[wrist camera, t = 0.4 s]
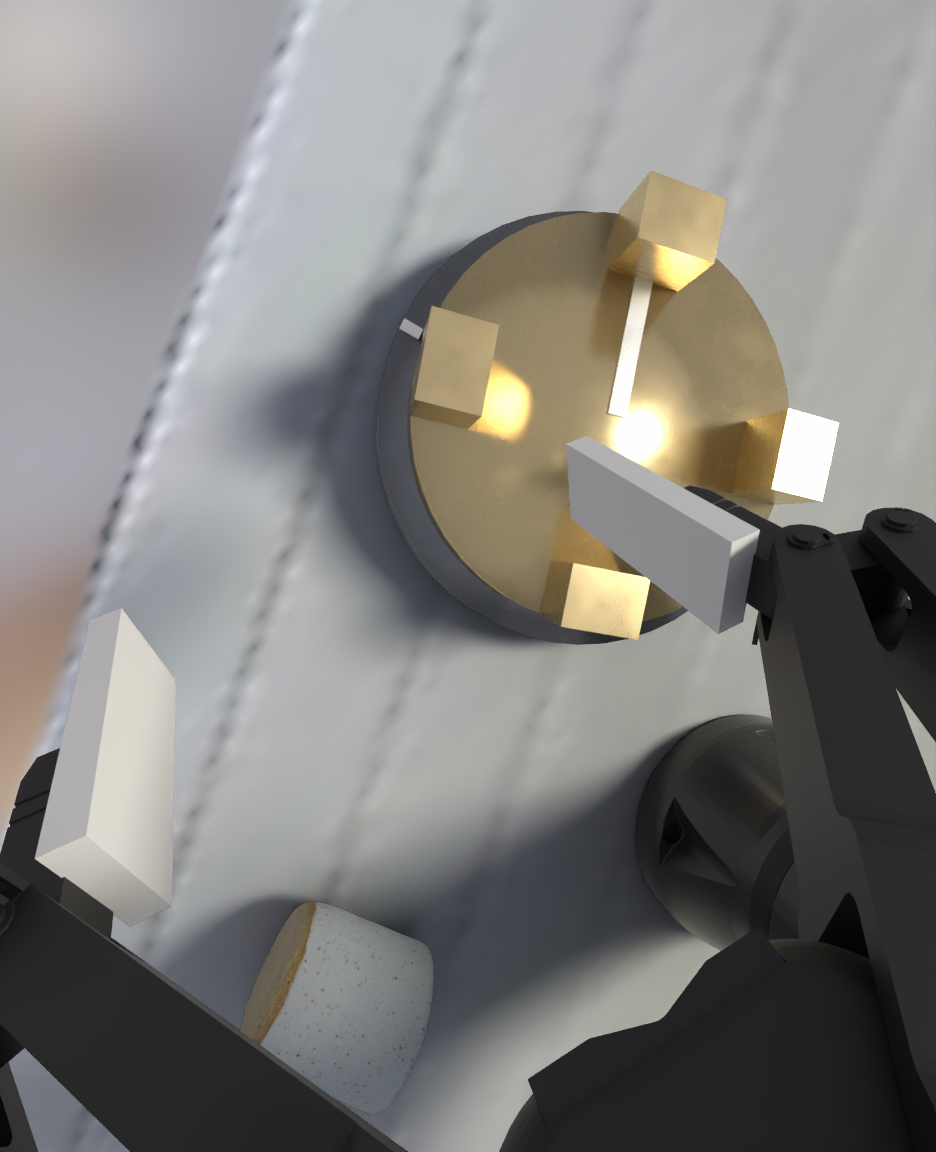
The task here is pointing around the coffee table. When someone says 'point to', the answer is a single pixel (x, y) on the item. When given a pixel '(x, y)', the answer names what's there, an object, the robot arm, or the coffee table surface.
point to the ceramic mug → (343, 1004)
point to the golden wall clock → (599, 398)
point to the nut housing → (400, 473)
